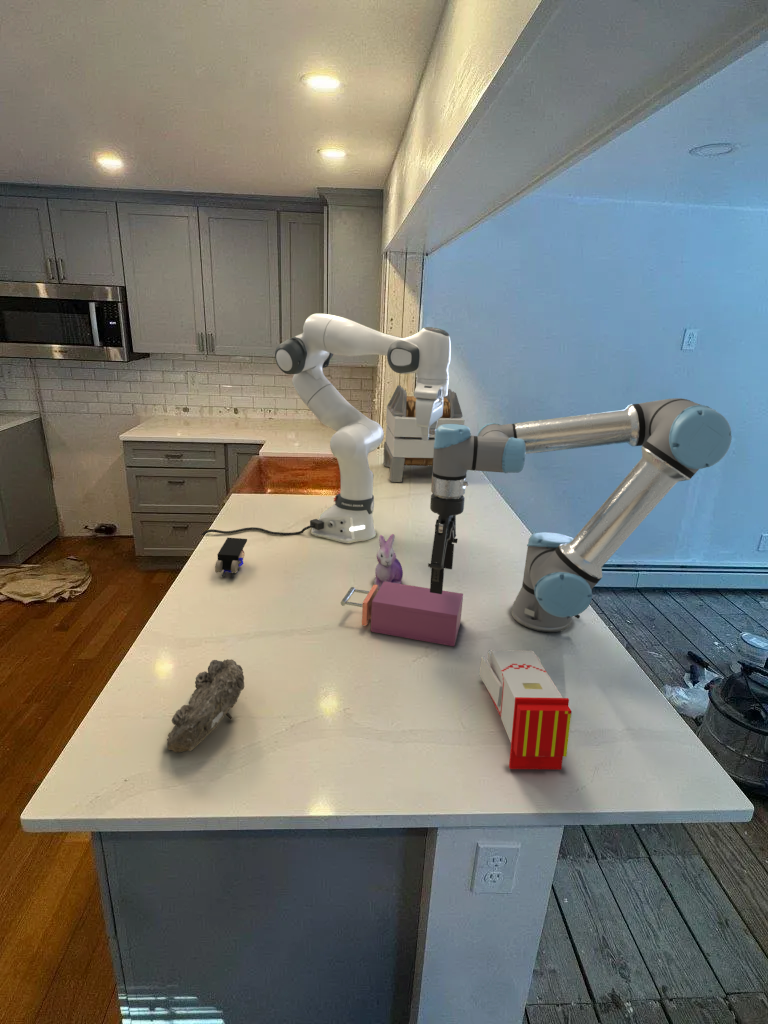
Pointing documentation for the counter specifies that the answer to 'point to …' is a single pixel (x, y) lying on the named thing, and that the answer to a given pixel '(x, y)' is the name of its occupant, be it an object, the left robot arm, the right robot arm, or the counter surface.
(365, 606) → the drawer
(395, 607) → the cabinet
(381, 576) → the figurine
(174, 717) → the fossil
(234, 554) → the figurine character
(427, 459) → the transformer
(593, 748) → the counter surface
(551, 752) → the toy
